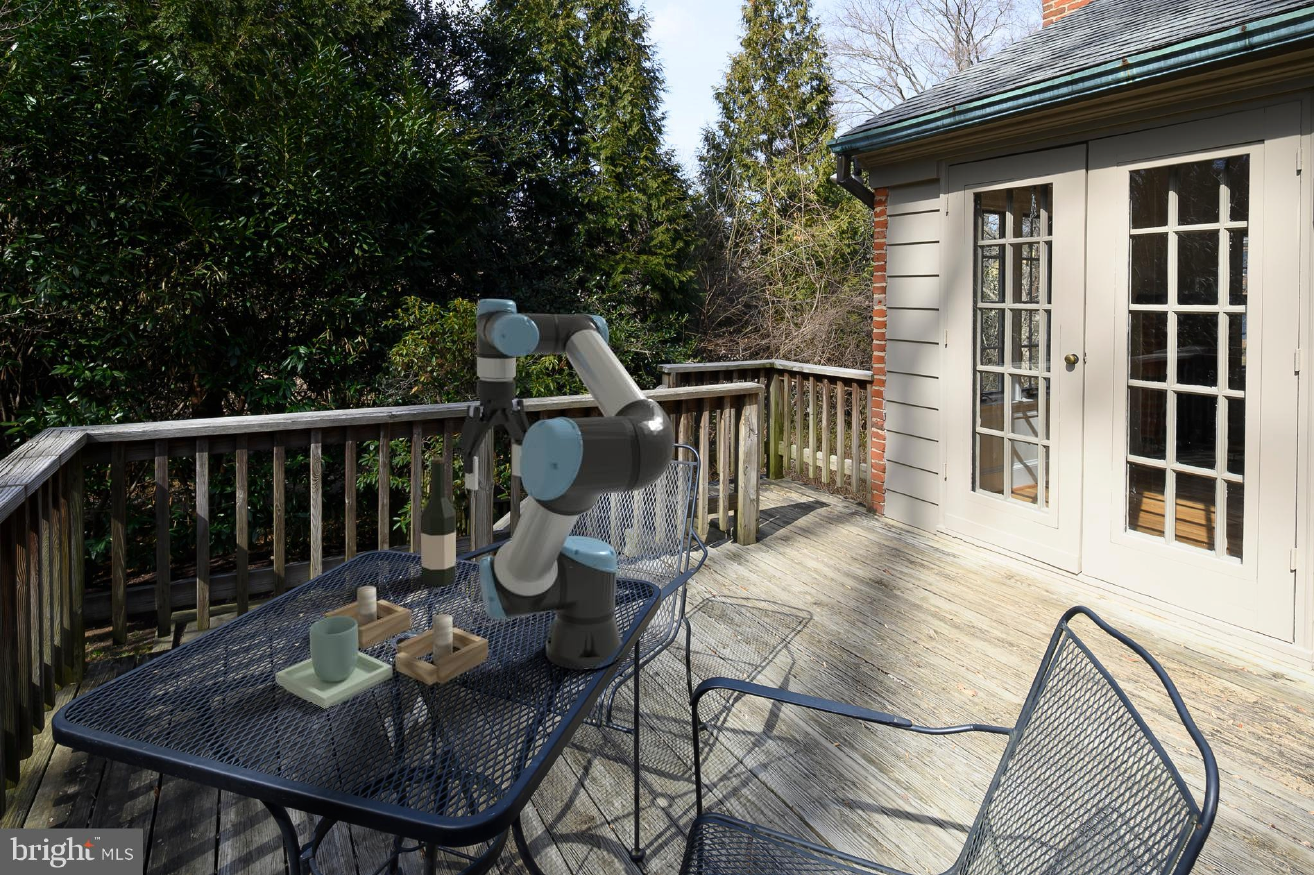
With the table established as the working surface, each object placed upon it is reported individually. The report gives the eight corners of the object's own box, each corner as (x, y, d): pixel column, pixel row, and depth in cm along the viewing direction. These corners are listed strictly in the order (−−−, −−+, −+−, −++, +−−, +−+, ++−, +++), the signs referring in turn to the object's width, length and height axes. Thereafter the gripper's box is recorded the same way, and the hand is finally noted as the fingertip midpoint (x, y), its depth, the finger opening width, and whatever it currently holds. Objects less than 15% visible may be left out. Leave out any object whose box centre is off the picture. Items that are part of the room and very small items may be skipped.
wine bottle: (447, 588, 187) (446, 464, 180) (414, 584, 188) (412, 460, 182) (462, 575, 195) (462, 456, 188) (431, 571, 196) (429, 453, 190)
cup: (302, 680, 142) (300, 629, 140) (335, 662, 149) (333, 612, 147) (336, 691, 139) (334, 638, 137) (368, 671, 146) (366, 621, 144)
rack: (493, 656, 156) (493, 613, 154) (435, 687, 143) (434, 641, 141) (378, 610, 173) (377, 571, 171) (317, 635, 161) (315, 593, 159)
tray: (392, 677, 146) (392, 666, 146) (325, 710, 135) (324, 698, 134) (343, 654, 153) (343, 644, 153) (275, 684, 142) (275, 673, 141)
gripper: (523, 371, 170) (522, 467, 174) (435, 382, 149) (436, 491, 153) (551, 374, 166) (549, 473, 170) (464, 386, 145) (464, 498, 150)
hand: (495, 482), depth 162 cm, fingers open, 13 cm apart
